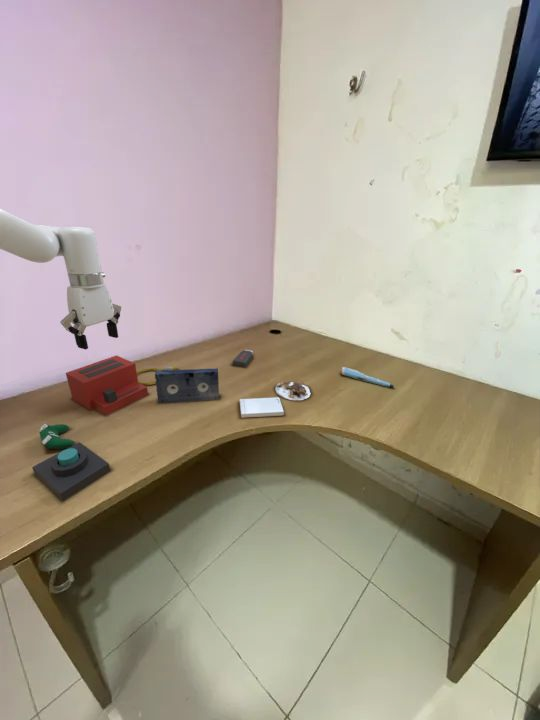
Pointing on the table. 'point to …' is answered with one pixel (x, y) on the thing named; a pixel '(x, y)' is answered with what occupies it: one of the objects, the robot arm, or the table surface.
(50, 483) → the control block
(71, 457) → the button
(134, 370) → the toaster
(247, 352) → the usb drive
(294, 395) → the plate of food
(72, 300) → the robot arm
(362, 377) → the light blue tapered rod
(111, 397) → the toaster slider
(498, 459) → the table surface
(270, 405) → the hard drive
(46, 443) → the green piece
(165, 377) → the vhs cassette tape
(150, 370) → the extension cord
